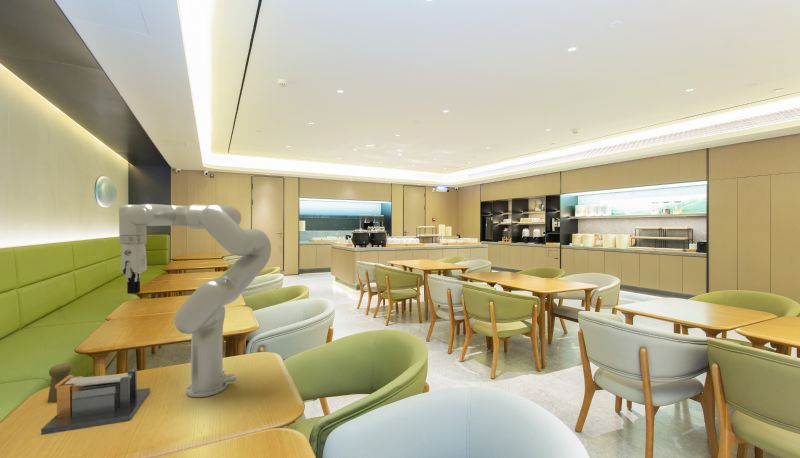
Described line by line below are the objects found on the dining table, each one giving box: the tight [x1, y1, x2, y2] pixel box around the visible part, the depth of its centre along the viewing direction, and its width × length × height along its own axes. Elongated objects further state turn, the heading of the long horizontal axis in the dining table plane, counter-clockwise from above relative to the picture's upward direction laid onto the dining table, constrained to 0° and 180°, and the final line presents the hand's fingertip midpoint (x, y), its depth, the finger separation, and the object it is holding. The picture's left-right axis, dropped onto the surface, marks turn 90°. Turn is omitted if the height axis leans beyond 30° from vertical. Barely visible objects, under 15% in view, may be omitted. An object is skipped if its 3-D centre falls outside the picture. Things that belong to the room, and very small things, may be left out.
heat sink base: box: [40, 368, 151, 436], centre depth 107 cm, size 20×18×11 cm
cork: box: [47, 362, 72, 404], centre depth 115 cm, size 6×6×11 cm
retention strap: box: [64, 373, 133, 386], centre depth 107 cm, size 16×4×1 cm, turn 110°
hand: (133, 292), depth 122 cm, fingers closed
